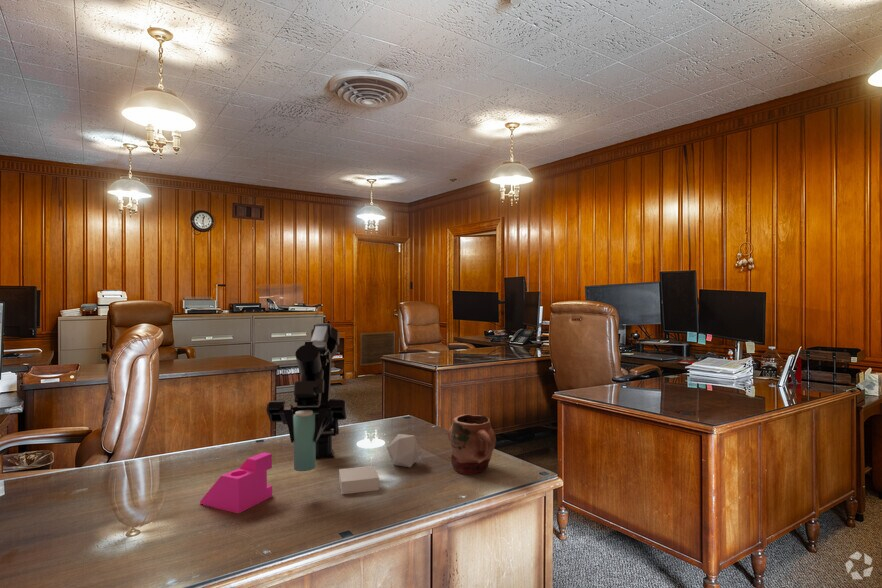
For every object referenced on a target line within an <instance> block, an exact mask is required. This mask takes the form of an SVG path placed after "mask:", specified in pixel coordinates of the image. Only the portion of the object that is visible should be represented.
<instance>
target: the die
mask: <svg viewBox="0 0 882 588" xmlns="http://www.w3.org/2000/svg"><path fill="white" fill-rule="evenodd" d="M386 450H387V452H388V454H389V457H390V459H391V462H392V464H393V466H399V467H406V468H412V466H413V465H414V464H415V462H416V461H418V459H419V457H420V456H421V454H422V449H421V447H420V444H419V442H418V440H417V437H416V435H412V434H402V433H398V434H397V435H396V436H395V437H394V438H393V439H392V441H391V442H390V443H389V444H388V446H387V447H386Z"/></svg>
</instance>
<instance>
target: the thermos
mask: <svg viewBox="0 0 882 588" xmlns="http://www.w3.org/2000/svg"><path fill="white" fill-rule="evenodd" d="M293 429H294V441H293V469H294V471H296V472H308V471H311V470H315V468H316V467H317V465H316V464H317V463H316V461H317V459H316V448H315V442H314V435H315V414H314V413H313V411H312V410H300V411H297V412H295V414H294V416H293Z"/></svg>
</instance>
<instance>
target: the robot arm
mask: <svg viewBox="0 0 882 588" xmlns="http://www.w3.org/2000/svg"><path fill="white" fill-rule="evenodd" d="M339 345H340V333H339V330H338V329H336V328H335V327H333V326H332V324H331V323H325V322H324V323H323V322H322V323H315V324H313V328H312V330H311V331H310V340H309V341H304V344H303V345H301V346H299V347H298V348H297V349H296V351H295V359H296V364H297V369H298V371H299V373H300V379H299V381H294V385H293V387H294V389H293V396H294V403H296V405H292V404H289V403H287V404H286V401H285V400H270V401H269V402H268V403H267V404H266V409H265V411H266V414H267V416H268V419H269V422H272V423H280V422H282V424H283V425H287V428H288V434H289V438H290V442H291V444H294V429H293V416H294V415H295V412H297V411H300V410H312V411H313V413H314V414H315V435H314V442H315V448H316V460H319V459H329V458H334V457H335V451H334V449H333V437H336V436H337V435H339V434H340V429H339V428H340V427H339V421H344V420H346V419H347V414H348V413H347V412H348V410H347V409H348V408H347V403H346V400H345V399H344V398H330V397H331V381H332V380H331V378H332V377H331V376H332V359H333V358H334V357H335V355H336V354H337V352H338V346H339Z"/></svg>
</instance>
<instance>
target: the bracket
mask: <svg viewBox="0 0 882 588" xmlns="http://www.w3.org/2000/svg"><path fill="white" fill-rule="evenodd" d="M272 468H273V454H272V453H270V452H265V451H264V452H261V453H258V454H255V455H253V456H251V457H248V458H246V460H245V461H244V462H243V463H242V464H241V465H240V467H239V468H236V469H234V470H232V471H228V472H227V473H224V474H221V475H220V476H219V478H218V479H217V480H216V481H215V482H214V484H213V485H212V487H210V489H208V491H207V492H206V494H205V495H204V496H203V497H202V498H201V500H200V501H199V505H200V504H203V505H202V506H205V505H207V506H206V507H209V506H211V507H210V508H213V507H214V509H218V510H223V511H228V512H231V513H235V514H240V513H242V512H244V511H246V510H249V509H250V508H252V507H254V506H256V505H258V504H260V503H262V502H263V501H265V500H267V499H269V498H271V497H273V485H269V484H268V472H267V471H268V470H271V469H272Z"/></svg>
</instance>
